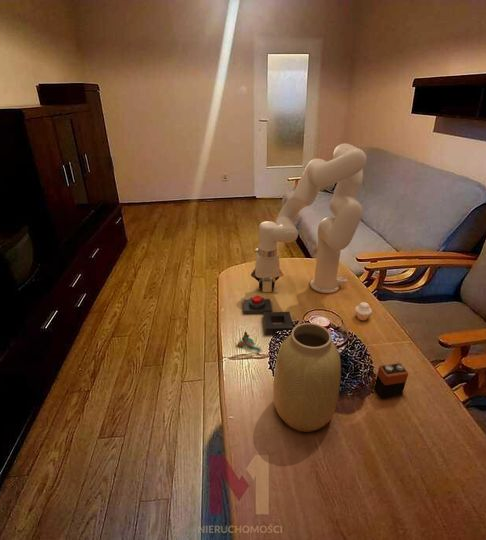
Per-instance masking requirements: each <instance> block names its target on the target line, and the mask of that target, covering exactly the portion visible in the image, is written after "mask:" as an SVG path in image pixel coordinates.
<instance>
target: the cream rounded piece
mask: <svg viewBox="0 0 486 540" xmlns="http://www.w3.org/2000/svg"><path fill="white" fill-rule="evenodd" d="M354 313H355V315H356V317H357V319H358V320H360V321H367V319H369V318H370V317H371V315H372V313H373V310H372V308H371V307H370V304H369V303H367V302H365V301H364V302H363V301H362V302H360V303H359V304H358V305H356V306H355V308H354Z"/></svg>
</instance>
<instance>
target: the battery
mask: <svg viewBox="0 0 486 540" xmlns="http://www.w3.org/2000/svg"><path fill="white" fill-rule="evenodd" d="M408 376H409V372H408V370H407V369H406V367H404V365H403V364H402V363H401V362H397V363H391V364H383V365H379V366H378V369H377V374H376V379H375V382H374V387H373V389H374V390H375V392H376V393H377V394H378V397H380V399H388V398H393V397H401V396H402V395H403V393H404V389H405V386H406V383H407V380H408Z"/></svg>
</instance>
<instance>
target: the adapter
mask: <svg viewBox="0 0 486 540" xmlns="http://www.w3.org/2000/svg"><path fill="white" fill-rule="evenodd" d="M262 315H263V319H262V321H263V327H264V336H278V335H277V334H278V333H275V332H277V331H283V330H293V328H294V325H293V324H294V323H293V321H292V317H291V312H290V311H272V312H263V314H262Z"/></svg>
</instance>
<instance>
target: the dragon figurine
mask: <svg viewBox="0 0 486 540" xmlns="http://www.w3.org/2000/svg"><path fill="white" fill-rule="evenodd" d="M245 344H246V345H247V346H248V347H250V348H252V349H254V350H257V351H256V353H257V354H258V355H259V351H260V349H259V347H256V346H254V345H256V343H255V342H254V340H253V339H252V338H251V337H250V334H249V333H248V332H247V331H246V330H245V331H244V332H243V336H242V337H241V340H239V341H238V342H237V344H236V346H237V347H243V346H245Z"/></svg>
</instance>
